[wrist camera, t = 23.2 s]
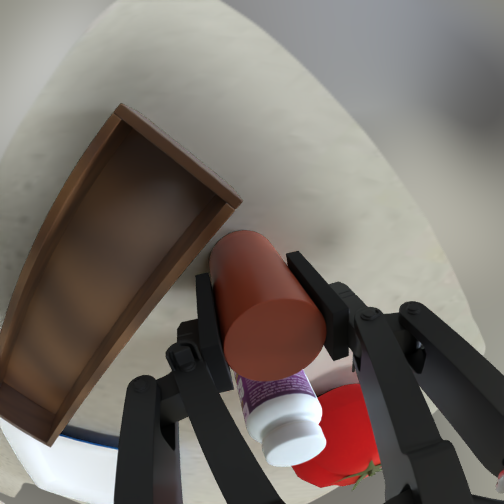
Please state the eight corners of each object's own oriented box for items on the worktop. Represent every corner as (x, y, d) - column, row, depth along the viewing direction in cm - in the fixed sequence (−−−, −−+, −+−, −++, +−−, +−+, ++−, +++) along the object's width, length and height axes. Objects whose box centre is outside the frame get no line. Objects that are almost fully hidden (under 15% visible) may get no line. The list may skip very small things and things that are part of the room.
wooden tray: (136, 110, 16) (120, 102, 12) (232, 187, 19) (243, 200, 15) (-1, 377, 20) (-16, 406, 16) (59, 416, 23) (50, 448, 19)
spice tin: (238, 216, 19) (274, 277, 11) (288, 255, 21) (345, 328, 13) (195, 269, 20) (201, 357, 12) (246, 302, 22) (278, 392, 14)
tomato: (265, 390, 26) (296, 482, 16) (386, 347, 27) (442, 416, 18) (280, 445, 30) (305, 515, 21) (376, 409, 32) (414, 468, 22)
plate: (166, 506, 34) (167, 515, 32) (39, 478, 28) (37, 488, 26) (178, 445, 27) (179, 460, 25) (-4, 399, 21) (-9, 412, 19)
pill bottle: (218, 356, 23) (237, 457, 14) (275, 323, 23) (318, 418, 14) (253, 389, 26) (279, 478, 17) (303, 360, 25) (346, 445, 16)
